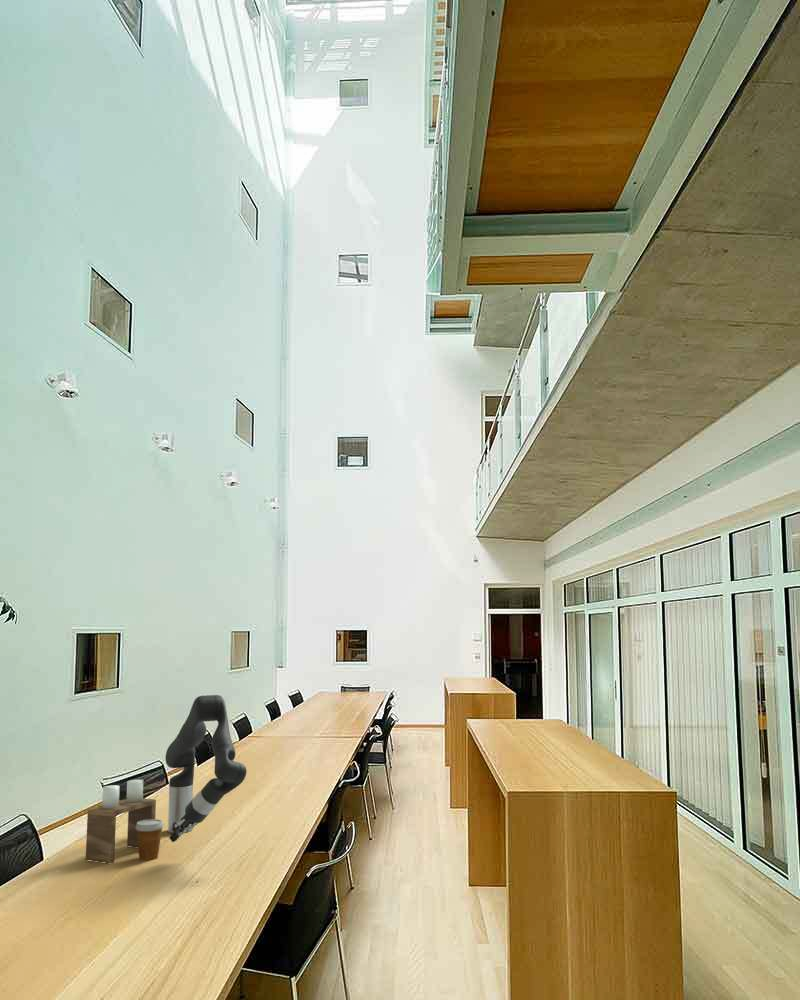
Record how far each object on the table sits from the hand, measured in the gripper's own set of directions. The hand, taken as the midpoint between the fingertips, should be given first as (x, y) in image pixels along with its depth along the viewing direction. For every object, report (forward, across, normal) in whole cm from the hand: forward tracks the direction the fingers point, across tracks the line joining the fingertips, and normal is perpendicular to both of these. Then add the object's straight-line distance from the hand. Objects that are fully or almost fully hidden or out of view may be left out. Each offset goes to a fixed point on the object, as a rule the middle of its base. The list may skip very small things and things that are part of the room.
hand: (172, 839), depth 287 cm
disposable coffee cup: (+12, 0, -2) cm, 12 cm away
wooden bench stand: (+21, 0, -11) cm, 24 cm away
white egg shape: (+9, -6, -23) cm, 25 cm away
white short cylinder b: (+9, +6, -23) cm, 25 cm away
